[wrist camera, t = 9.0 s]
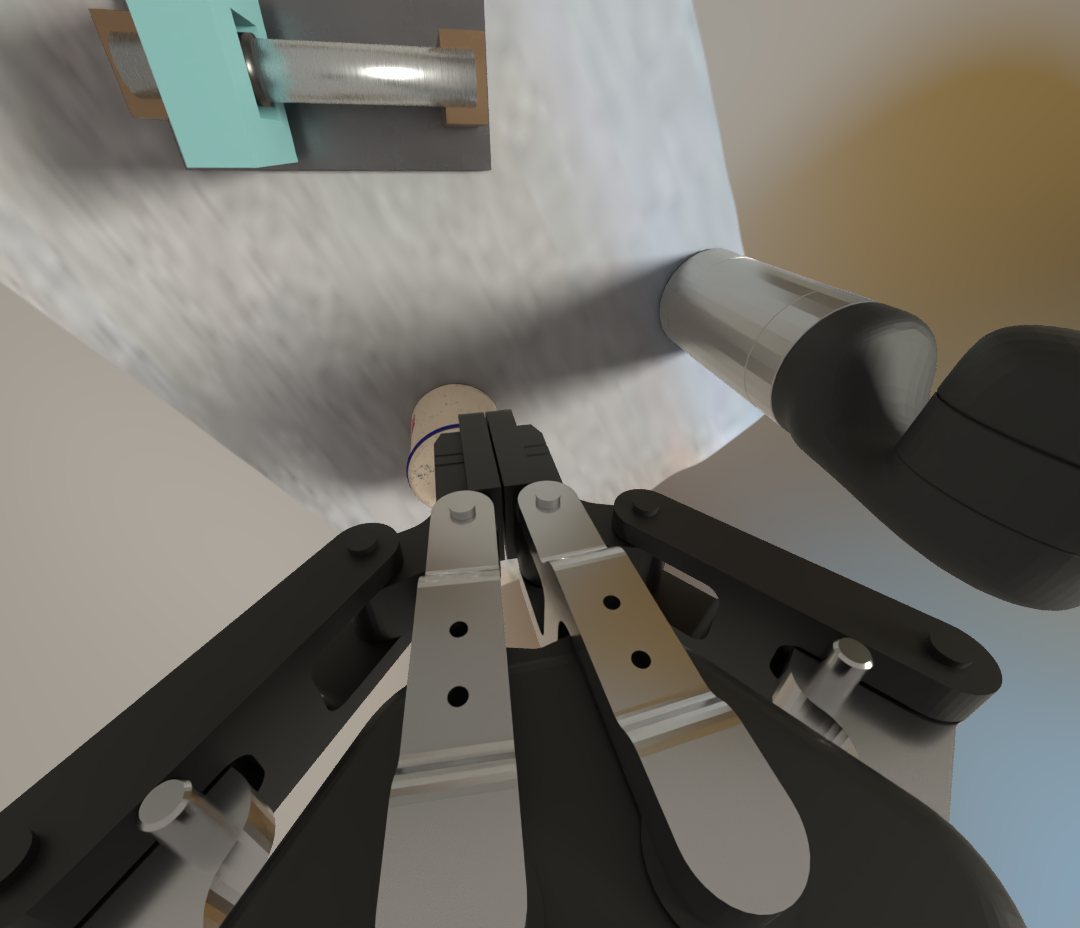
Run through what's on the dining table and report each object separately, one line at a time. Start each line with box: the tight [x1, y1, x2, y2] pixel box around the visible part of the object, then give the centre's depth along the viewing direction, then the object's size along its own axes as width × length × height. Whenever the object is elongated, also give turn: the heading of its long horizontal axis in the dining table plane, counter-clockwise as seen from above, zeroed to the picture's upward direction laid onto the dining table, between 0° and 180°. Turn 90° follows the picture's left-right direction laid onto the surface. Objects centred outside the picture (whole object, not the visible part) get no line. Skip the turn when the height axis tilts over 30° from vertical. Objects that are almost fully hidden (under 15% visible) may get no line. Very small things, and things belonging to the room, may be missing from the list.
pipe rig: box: [89, 0, 491, 170], centre depth 26 cm, size 20×9×8 cm, turn 89°
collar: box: [126, 0, 298, 168], centre depth 23 cm, size 3×8×9 cm, turn 0°
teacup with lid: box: [407, 384, 498, 508], centre depth 41 cm, size 12×9×12 cm
